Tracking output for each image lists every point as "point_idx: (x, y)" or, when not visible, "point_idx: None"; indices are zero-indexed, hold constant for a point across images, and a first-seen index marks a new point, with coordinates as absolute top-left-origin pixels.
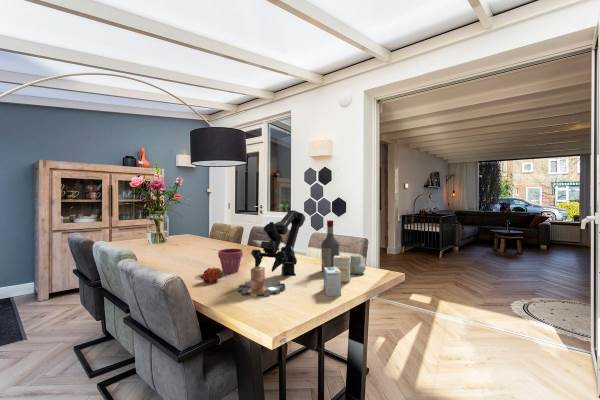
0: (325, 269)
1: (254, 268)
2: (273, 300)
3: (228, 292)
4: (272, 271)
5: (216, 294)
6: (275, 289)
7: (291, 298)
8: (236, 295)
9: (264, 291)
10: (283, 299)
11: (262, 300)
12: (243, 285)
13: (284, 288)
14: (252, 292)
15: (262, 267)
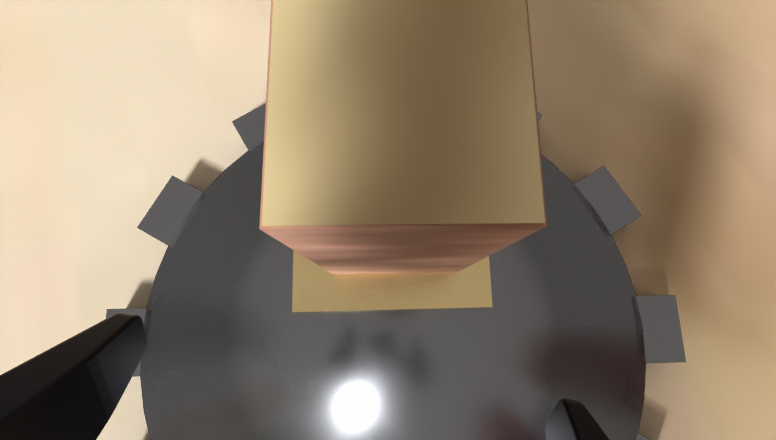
0: None
1: (469, 54)
2: (179, 39)
3: (688, 158)
4: (133, 335)
5: (765, 85)
6: (198, 256)
7: (21, 113)
8: (563, 94)
9: None
10: (93, 76)
11: None
12: (630, 332)
13: None
14: None
15: (300, 179)
